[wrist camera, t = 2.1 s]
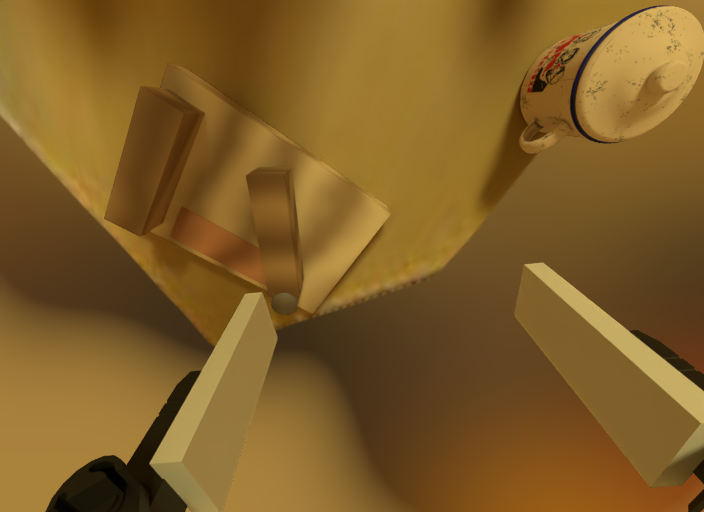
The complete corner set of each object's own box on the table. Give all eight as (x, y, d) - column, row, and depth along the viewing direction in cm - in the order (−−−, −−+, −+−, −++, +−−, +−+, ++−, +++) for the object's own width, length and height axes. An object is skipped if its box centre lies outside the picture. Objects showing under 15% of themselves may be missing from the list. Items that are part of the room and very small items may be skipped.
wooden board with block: (138, 208, 35) (92, 230, 29) (184, 67, 28) (138, 55, 22) (315, 301, 42) (309, 334, 36) (387, 206, 35) (395, 227, 29)
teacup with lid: (580, 8, 26) (730, -56, 16) (622, 84, 29) (771, 71, 19) (476, 114, 30) (540, 117, 20) (521, 171, 33) (598, 200, 23)
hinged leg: (258, 167, 30) (244, 176, 26) (291, 167, 30) (282, 175, 26) (279, 293, 37) (270, 315, 33) (305, 293, 37) (300, 314, 33)
